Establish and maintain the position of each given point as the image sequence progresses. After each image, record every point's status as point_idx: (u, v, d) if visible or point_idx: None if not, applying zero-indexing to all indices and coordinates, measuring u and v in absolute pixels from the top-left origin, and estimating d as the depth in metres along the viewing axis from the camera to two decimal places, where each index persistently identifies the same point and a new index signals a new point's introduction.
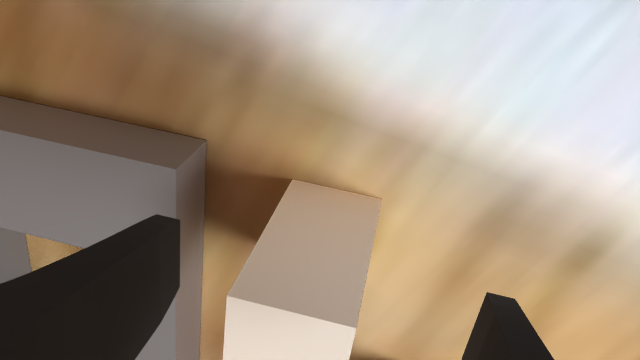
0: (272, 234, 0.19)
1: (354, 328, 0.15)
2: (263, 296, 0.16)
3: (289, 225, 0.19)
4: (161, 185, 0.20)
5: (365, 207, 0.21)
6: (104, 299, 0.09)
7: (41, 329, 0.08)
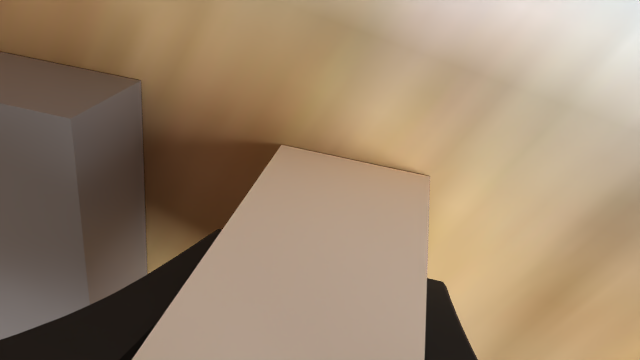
0: (239, 235, 0.10)
1: None
2: None
3: (273, 219, 0.10)
4: (49, 148, 0.12)
5: (404, 188, 0.12)
6: None
7: None
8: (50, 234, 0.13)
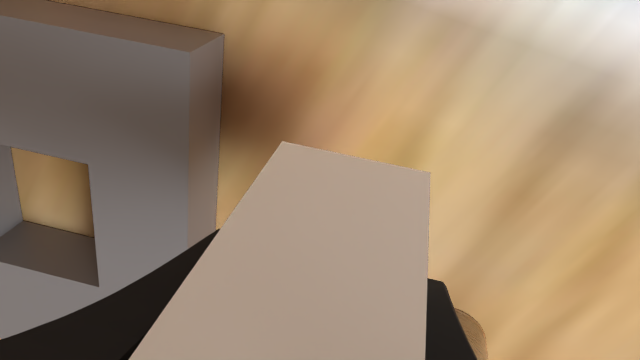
0: (240, 230, 0.10)
1: None
2: None
3: (274, 215, 0.11)
4: (172, 74, 0.17)
5: (405, 184, 0.12)
6: None
7: None
8: (165, 140, 0.18)
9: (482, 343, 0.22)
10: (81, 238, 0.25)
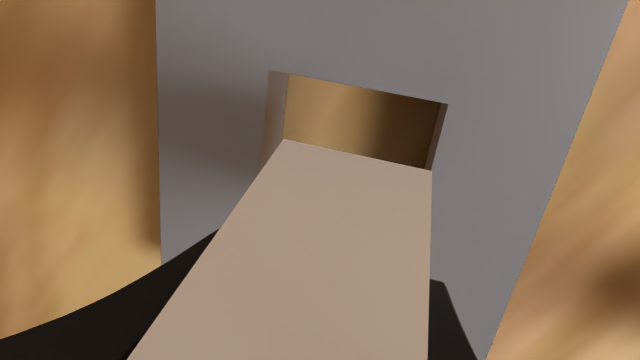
0: (242, 227, 0.10)
1: None
2: None
3: (276, 212, 0.10)
4: None
5: (406, 182, 0.12)
6: None
7: None
8: (567, 70, 0.15)
9: None
10: None
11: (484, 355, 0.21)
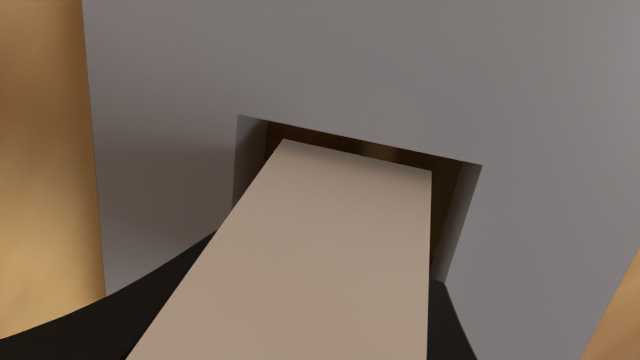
0: (241, 227, 0.10)
1: None
2: None
3: (275, 212, 0.10)
4: None
5: (406, 183, 0.12)
6: None
7: None
8: None
9: None
10: None
11: None
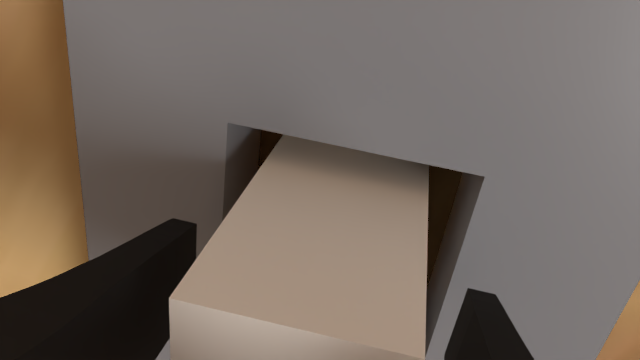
0: (260, 193, 0.11)
1: (421, 359, 0.07)
2: (240, 297, 0.08)
3: (290, 181, 0.12)
4: None
5: None
6: (125, 304, 0.09)
7: (66, 336, 0.08)
8: None
9: None
10: None
11: None
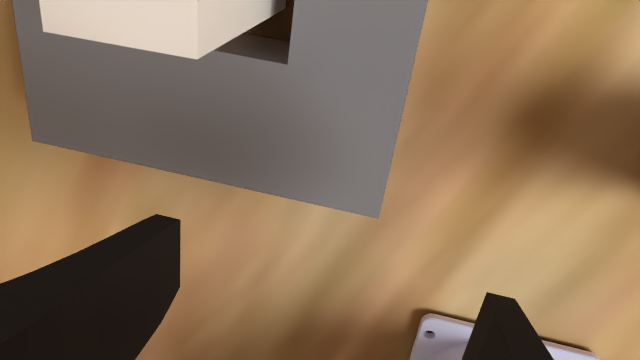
0: None
1: None
2: None
3: None
4: None
5: None
6: (104, 299, 0.09)
7: (41, 329, 0.08)
8: None
9: None
10: None
11: (381, 193, 0.18)
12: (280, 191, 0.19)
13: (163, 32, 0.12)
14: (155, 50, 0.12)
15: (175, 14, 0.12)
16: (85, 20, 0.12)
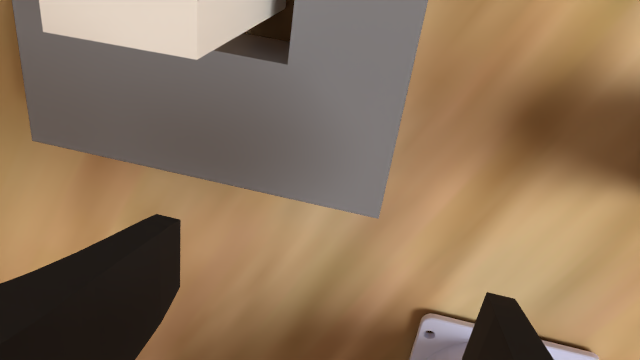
0: None
1: None
2: None
3: None
4: None
5: None
6: (104, 299, 0.09)
7: (41, 329, 0.08)
8: None
9: None
10: None
11: (381, 193, 0.18)
12: (280, 191, 0.19)
13: (163, 32, 0.12)
14: (155, 51, 0.12)
15: (175, 14, 0.12)
16: (85, 20, 0.12)
